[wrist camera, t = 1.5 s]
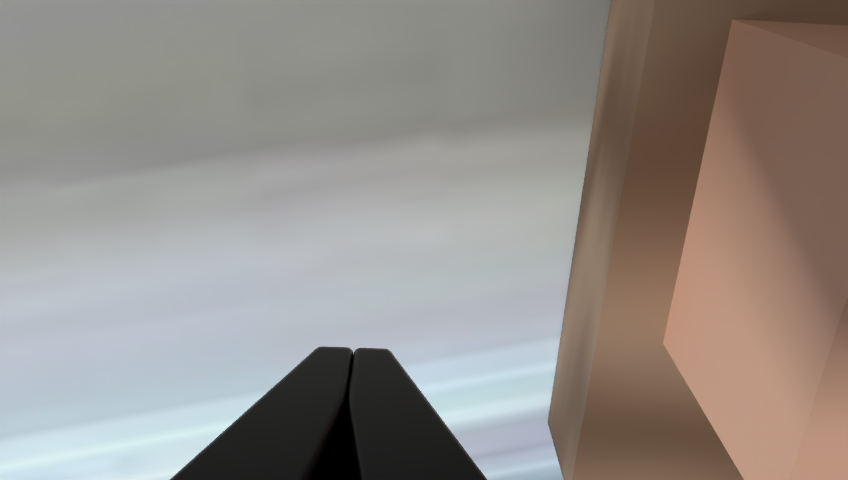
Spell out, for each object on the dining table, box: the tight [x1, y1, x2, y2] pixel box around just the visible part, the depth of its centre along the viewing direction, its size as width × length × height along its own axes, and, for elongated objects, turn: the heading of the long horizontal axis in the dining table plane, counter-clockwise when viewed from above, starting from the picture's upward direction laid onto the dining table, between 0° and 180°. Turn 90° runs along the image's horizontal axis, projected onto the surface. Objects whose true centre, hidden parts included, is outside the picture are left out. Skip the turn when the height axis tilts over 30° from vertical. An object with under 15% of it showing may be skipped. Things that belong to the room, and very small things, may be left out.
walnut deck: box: [548, 0, 848, 480], centre depth 17 cm, size 16×10×3 cm, turn 177°
